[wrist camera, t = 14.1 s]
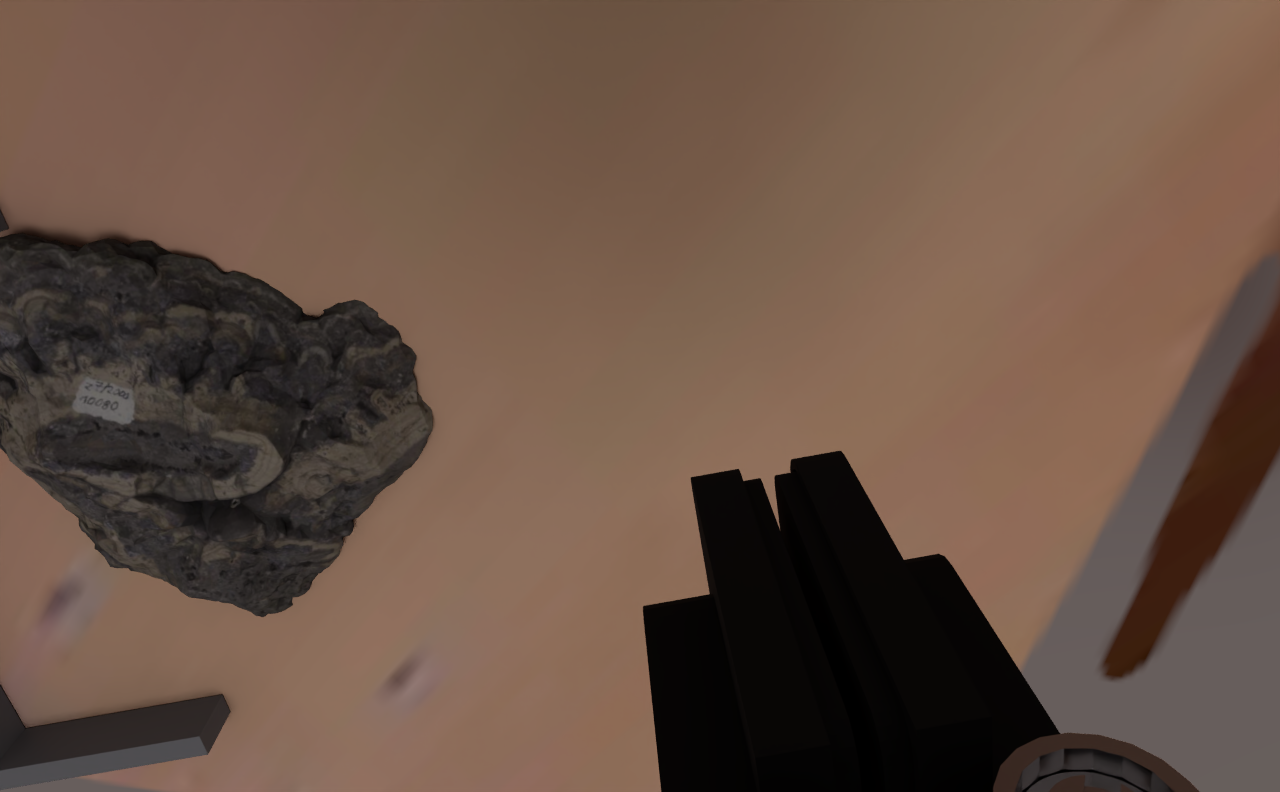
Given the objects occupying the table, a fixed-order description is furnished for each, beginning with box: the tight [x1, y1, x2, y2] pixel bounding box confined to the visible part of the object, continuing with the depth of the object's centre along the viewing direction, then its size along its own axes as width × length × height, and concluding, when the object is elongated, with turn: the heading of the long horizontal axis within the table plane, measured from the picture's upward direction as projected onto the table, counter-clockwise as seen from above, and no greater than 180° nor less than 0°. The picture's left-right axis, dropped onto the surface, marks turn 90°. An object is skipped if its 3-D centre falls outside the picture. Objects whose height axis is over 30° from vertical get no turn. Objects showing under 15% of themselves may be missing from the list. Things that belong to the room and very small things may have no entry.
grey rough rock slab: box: [0, 233, 433, 617], centre depth 34 cm, size 19×4×15 cm
